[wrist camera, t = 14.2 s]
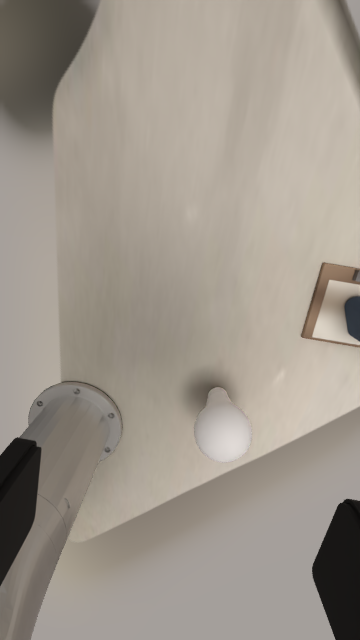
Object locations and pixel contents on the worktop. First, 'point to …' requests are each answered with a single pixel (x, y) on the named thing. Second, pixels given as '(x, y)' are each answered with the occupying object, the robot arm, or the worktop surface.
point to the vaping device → (353, 317)
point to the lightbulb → (222, 428)
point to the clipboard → (332, 305)
